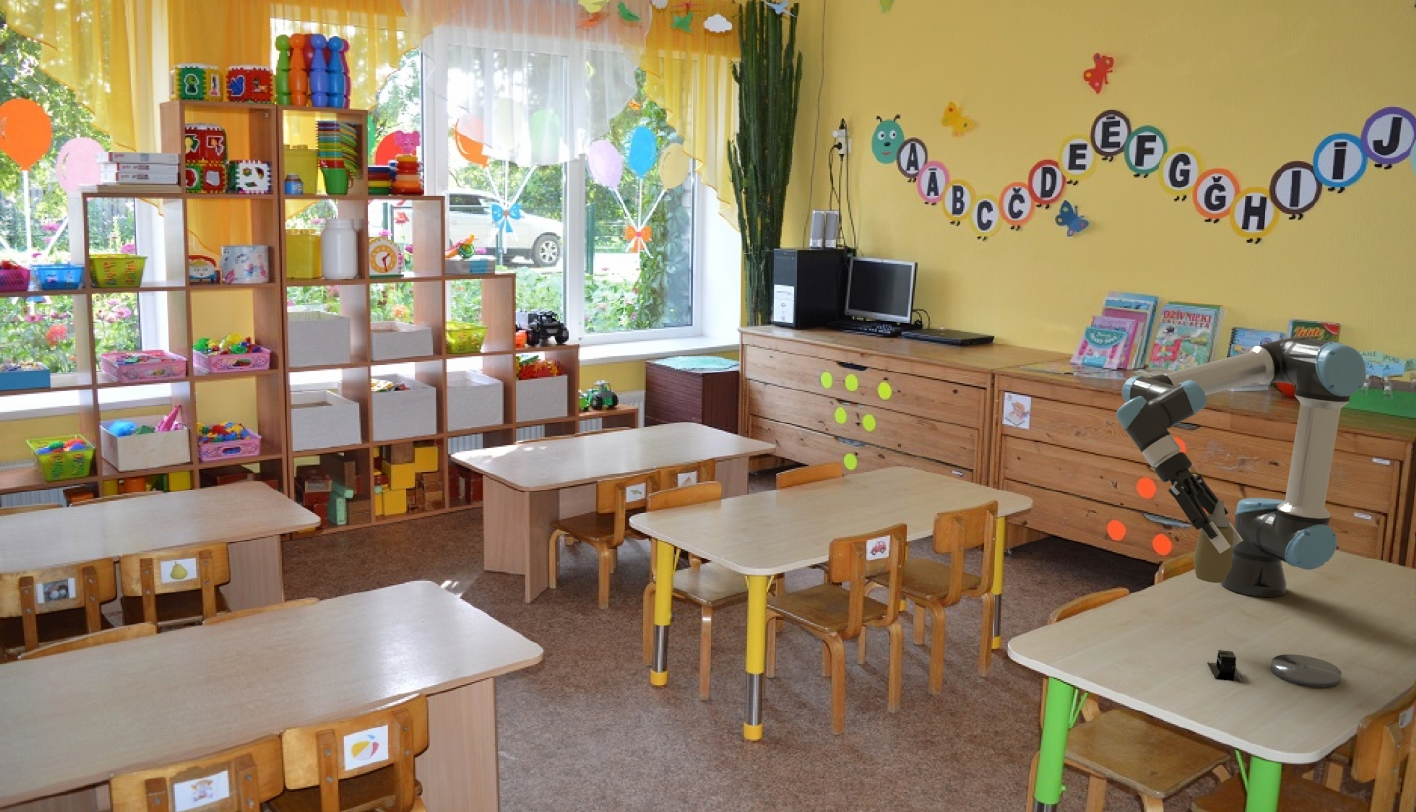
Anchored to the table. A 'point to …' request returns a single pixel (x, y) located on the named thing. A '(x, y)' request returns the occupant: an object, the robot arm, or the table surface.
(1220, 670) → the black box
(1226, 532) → the squeeze bottle
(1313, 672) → the cap
